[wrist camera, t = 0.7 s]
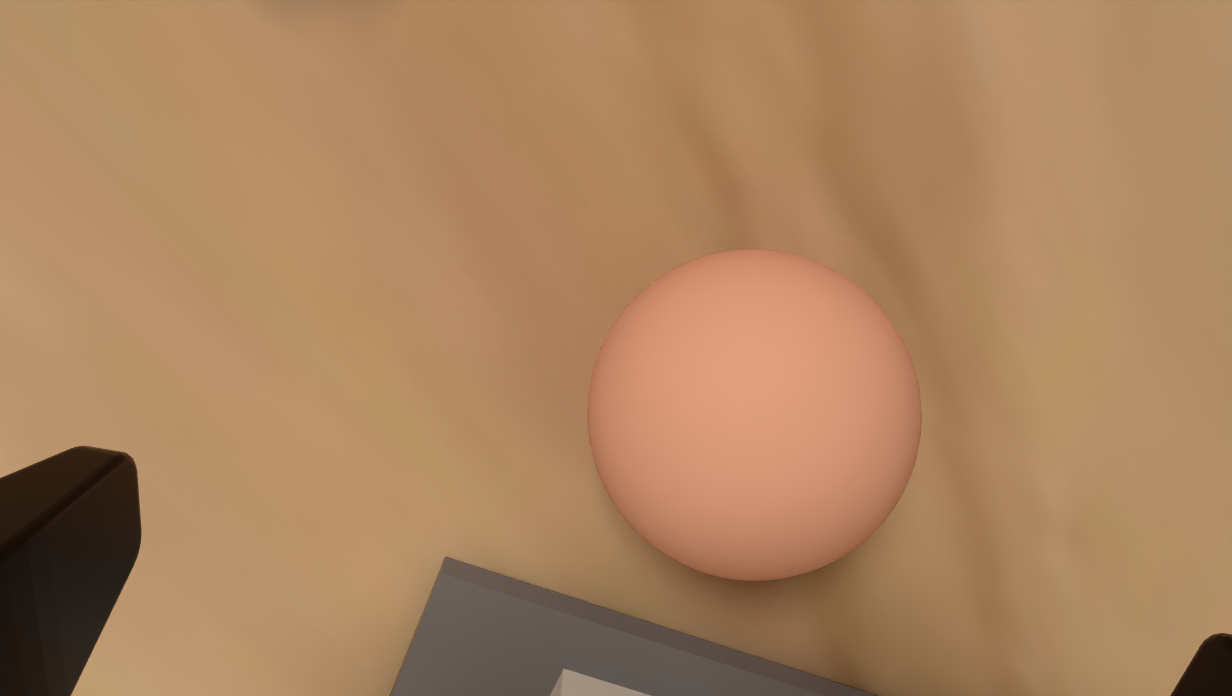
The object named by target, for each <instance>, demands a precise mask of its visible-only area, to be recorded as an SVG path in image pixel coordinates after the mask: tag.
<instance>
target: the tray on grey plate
mask: <svg viewBox="0 0 1232 696" xmlns="http://www.w3.org/2000/svg"><path fill="white" fill-rule="evenodd" d="M390 696H876V695H873V694H870V693H867V692H864V691H861V690H858V689H855V688H851V687H848V686H845V685H842V684H839V683H836V682H833V681H830V680H827V679H823V678H820V677H817V676H814V675H811V674H808V673H805V672H802V671H799V670H796V669H792V668H789V667H786V666H783V665H780V664H777V663H774V662H771V661H768V660H764V659H761V658H758V657H755V656H752V655H749V654H746V653H743V652H740V651H736V650H733V649H730V648H727V647H724V646H721V645H718V644H715V643H712V642H708V641H705V640H702V639H699V638H696V637H693V636H690V635H687V634H684V633H680V632H677V631H674V630H671V629H668V628H665V627H662V626H659V625H656V624H652V623H649V622H646V621H643V620H640V619H637V618H634V617H631V616H628V615H624V614H621V613H618V612H615V611H612V610H609V609H606V608H603V607H600V606H597V605H593V604H590V603H587V602H584V601H581V600H578V599H575V598H572V597H569V596H565V595H562V594H559V593H556V592H553V591H550V590H547V589H544V588H541V587H537V586H534V585H531V584H528V583H525V582H522V581H519V580H516V579H513V578H509V577H506V576H503V575H500V574H497V573H494V572H491V571H488V570H485V569H481V568H478V567H475V566H472V565H469V564H466V563H463V562H460V561H457V560H453V559H450V558H447V557H445V558H444V561H443V563H442V566H441V568H440V571H439V573H438V576H437V578H436V581H435V583H434V586H433V588H432V591H431V593H430V596H429V598H428V601H427V603H426V606H425V608H424V611H423V613H422V616H421V618H420V621H419V623H418V626H417V628H416V631H415V633H414V636H413V638H412V641H411V643H410V646H409V648H408V651H407V653H406V656H405V658H404V661H403V663H402V666H401V668H400V671H399V673H398V676H397V678H396V681H395V683H394V686H393V688H392V691H391V693H390Z"/></svg>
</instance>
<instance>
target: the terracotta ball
mask: <svg viewBox="0 0 1232 696" xmlns="http://www.w3.org/2000/svg"><path fill="white" fill-rule="evenodd" d="M587 419H588V432H589V441H590V446H591V449H592V453H593V457H594V460H595V464H596V468H597V471H598V474H599V476H600V478H601V480H602V483H603V485H604V487H605V489H606V491H607V493H608V494H609V496H610V498H611V499H612V501H613V503H614V504H615V506H616V507H617V509H618V511H619V512H620V513H621V515H622V516H623V517H624V518H625V519H626V520H627V522H628V523H629V524H630V525H631V526H632V527H633V528H634V529H635V530H636V531H637V532H638V533H639V534H640V535H641V536H642V537H643V538H644V539H645V540H646V541H647V542H648V543H650V544H651V545H652V546H654V547H655V548H656V549H658V550H659V551H661V552H662V553H664V554H665V555H667V556H669V557H670V558H672V559H674V560H676V561H678V562H680V563H682V564H683V565H685V566H687V567H690V568H692V569H695V570H697V571H700V572H702V573H706V574H710V575H713V576H717V577H721V578H728V579H734V580H746V581H763V580H776V579H783V578H789V577H793V576H797V575H801V574H805V573H808V572H811V571H814V570H816V569H819V568H822V567H824V566H826V565H828V564H830V563H832V562H834V561H836V560H838V559H840V558H842V557H843V556H845V555H846V554H848V553H849V552H851V551H853V550H854V549H855V548H856V547H858V546H859V545H860V544H861V543H863V542H864V541H865V540H866V539H867V538H868V537H869V536H870V535H871V534H872V533H873V532H874V531H875V530H876V529H877V528H878V527H879V526H880V525H881V524H882V523H883V522H884V520H885V519H886V518H887V517H888V515H889V514H890V513H891V511H892V510H893V509H894V507H895V505H896V504H897V502H898V500H899V498H900V497H901V495H902V493H903V491H904V489H905V487H906V485H907V483H908V481H909V478H910V475H911V473H912V470H913V468H914V465H915V460H916V456H917V451H918V447H919V441H920V436H921V421H922V415H921V402H920V391H919V385H918V381H917V377H916V373H915V369H914V366H913V363H912V360H911V357H910V355H909V353H908V350H907V348H906V346H905V343H904V341H903V339H902V338H901V336H900V334H899V333H898V331H897V330H896V328H895V326H894V325H893V323H892V322H891V320H890V319H889V317H888V316H887V314H886V313H885V312H884V311H883V310H882V309H881V307H880V306H879V305H878V304H877V303H876V302H875V300H874V299H872V298H871V297H870V296H869V295H868V294H867V293H865V292H864V291H863V290H862V289H861V288H860V287H859V286H857V285H856V284H855V283H854V282H852V281H851V280H850V279H848V278H846V277H845V276H843V275H842V274H840V273H839V272H837V271H836V270H834V269H832V268H829V267H827V266H825V265H823V264H821V263H819V262H817V261H814V260H810V259H807V258H804V257H801V256H798V255H795V254H791V253H786V252H780V251H775V250H764V249H742V250H730V251H725V252H719V253H714V254H710V255H707V256H704V257H701V258H697V259H694V260H692V261H689V262H687V263H685V264H683V265H681V266H679V267H676V268H674V269H673V270H671V271H669V272H668V273H666V274H665V275H663V276H661V277H660V278H658V279H657V280H656V281H654V282H653V283H652V284H651V285H649V286H648V287H647V288H646V289H644V290H643V291H642V292H641V293H639V294H638V295H637V296H636V297H635V299H634V300H633V301H632V302H631V303H630V304H629V305H628V306H627V307H626V308H625V309H624V311H623V312H622V313H621V315H620V316H619V318H618V319H617V320H616V322H615V323H614V325H613V326H612V328H611V330H610V331H609V333H608V335H607V337H606V339H605V341H604V343H603V345H602V347H601V348H600V351H599V354H598V357H597V360H596V362H595V365H594V369H593V373H592V377H591V383H590V388H589V393H588V410H587Z"/></svg>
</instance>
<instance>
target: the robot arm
mask: <svg viewBox="0 0 1232 696" xmlns="http://www.w3.org/2000/svg"><path fill="white" fill-rule="evenodd" d="M140 544H141V518H140V504H139V490H138V477H137V468H136V464H135V462H134V460H133V458H132V457H131V456H129V455H128V454H127V453H124V452H120V451H114V450H108V449H102V448H96V447H90V446H78V447H74V448H71V449H69V450H66V451H64V452H61V453H59V454H57V455H54V456H52V457H50V458H47V459H45V460H42V461H40V462H38V463H35V464H33V465H31V466H28V467H26V468H23V469H21V470H19V471H16V472H14V473H11V474H9V475H7V476H4V477H2V478H0V696H71V694H72V692H73V690H74V688H75V686H76V684H77V682H78V680H79V678H80V675H81V673H82V671H83V669H84V667H85V665H86V663H87V661H88V659H89V657H90V655H91V653H92V651H93V649H94V647H95V644H96V642H97V640H98V638H99V636H100V634H101V632H102V630H103V628H104V626H105V624H106V622H107V620H108V618H109V616H110V613H111V611H112V609H113V607H114V605H115V603H116V601H117V599H118V597H119V595H120V593H121V591H122V589H123V587H124V585H125V582H126V580H127V578H128V576H129V574H130V572H131V570H132V568H133V566H134V564H135V561H136V559H137V556H138V553H139V549H140ZM1171 696H1232V634H1226V633H1219V634H1213V635H1212V636H1210V637H1209V638H1207V639H1206V640H1204V642H1203V643H1202V644H1201V646H1200V647H1199V649H1198V651H1197V652H1196V654H1195V656H1194V657H1193V659H1192V661H1191V662H1190V664H1189V666H1188V667H1187V669H1186V671H1185V672H1184V674H1183V676H1182V677H1181V679H1180V681H1179V682H1178V684H1177V686H1176V687H1175V689H1174V691H1173V692H1172V694H1171Z"/></svg>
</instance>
